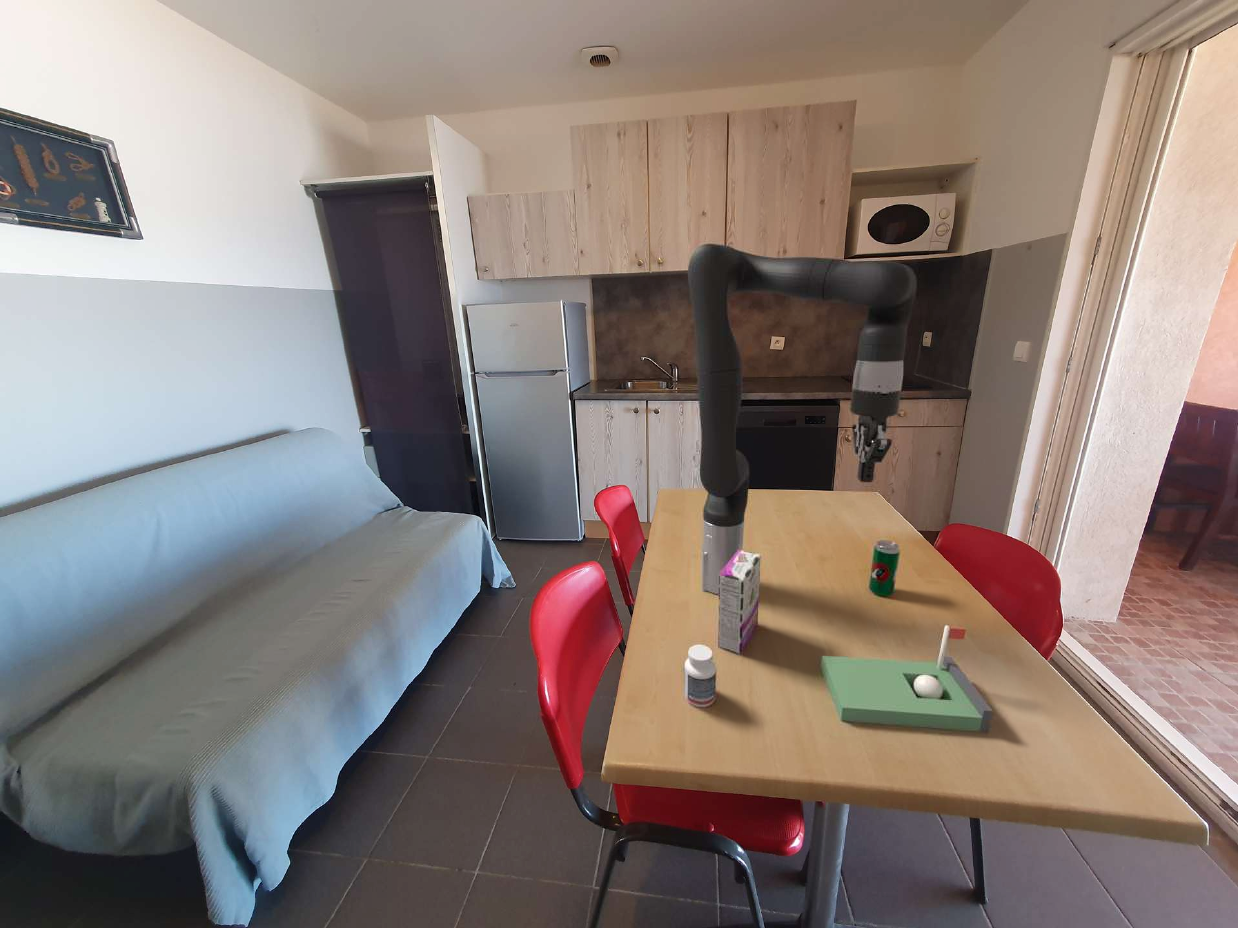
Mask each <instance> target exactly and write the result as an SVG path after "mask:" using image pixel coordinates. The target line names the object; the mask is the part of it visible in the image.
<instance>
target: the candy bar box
mask: <svg viewBox="0 0 1238 928" xmlns="http://www.w3.org/2000/svg"><path fill="white" fill-rule="evenodd" d="M761 556H762V554H760V553H755V552H751V551H746V550H744V549H743V550H738V551H737V552H736V553H735V555H734V556H733V557H732V559H731V560H730V561H729V563H728V564H727V565H726V566H725V568H724V569H723V570H722V571H721V573H720V574H719V594H718V631H717V632H718V640H717V641H718V642H717V644H718V645H717V646H718V648H721V649H723V650H726V651H729V652H733V653H735V654H737V655H742V654H743V652H744V650H745V648H746V646H747V644H748V643H749V640H750V638H751V637H752V635H753V633H754V631H755V629H756V628H757V626H758V622H759V621H758V620H759V603H760V601H759V598H760V577H761V558H762V557H761Z"/></svg>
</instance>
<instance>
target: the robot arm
mask: <svg viewBox="0 0 1238 928" xmlns="http://www.w3.org/2000/svg"><path fill="white" fill-rule="evenodd" d="M687 266H688V267H687V277H688V278H687V279H688V280H687V281H688V288H689V294H690V300H691V301H690V302H691V306H692V313H693V319H694V320H693V321H694V322H693V323H694V335H695V336H694V337H695V351H696V353H695V354H696V377H697V378H696V379H697V392H698V393H697V394H698V406H699V421H700V431H701V434H700V435H701V437H700V438H701V440H700V441H701V443H700V444H701V447H700V461H699V462H700V463H699V477H700V482H701V484H702V487H703V488H704V489H705V491H706V492H707V497H706V500H705V503H704V506H703V511H702V512H703V516H702V517H703V519H702V543H701V544H702V545H701V590H702V591H708V592H710V593H713V594H716V595H719V574H720V573H721V571H722V570H723V569H724V568H725V566H726V565H727V564H728V563H729V561H730V560H731V559H732V557H733V556H734V555H735V553H736V552H737V551H738V550H744V533H745V529H744V528H745V513H746V509H747V506H748V505H747V504H748V498H749V486H750V485H749V484H750V466H749V462H748V459H747V458H746V457H745V455H744V454H743V453H742V452H741V451H739V450H737V448H736V447H737V445H736V444H737V443H736V431H737V425H738V424H737V423H738V419H739V415H740V409H741V408H740V407H741V404H742V398H743V364H742V362H743V361H742V357H741V353H740V349H739V346H738V344H737V340H736V339H735V335H734V334H733V331H732V328H731V325H730V319H729V314H728V313H729V312H728V310H729V309H728V294H730V293H731V294H732V293H741V292H764V293H765V292H766V293H772V294H777V295H781V296H787V297H789V298H790V297H791V298H796V299H802V300H806V301H807V300H808V301H816V302H817V301H818V302H824V303H825V302H826V303H827V302H828V303H845V304H851V305H856V306H861V307H868V309H867V314H866V315H867V317H866V321H865V325H864V327H862V330H861V332H860V336H859V341H858V349H857V357H856V358H857V360H856V364H855V366H854V367H855V368H854V370H853V371H854V372H853V378H852V379H853V380H852V387H851V397H850V406H849V411H850V412H851V413H852V414H853V415H856V416H858V418H857V420H858V421H857V423H855V424H852V427H851V429H852V430H851V431H852V439H853V446H854V447H853V448H854V453H855V455H857V459H858V469H857V475H856V477H857V480H858V481H860V482H861V483H872V482H873V481H874V476H875V475H874V472H875V468H876V467H875V466H876V463H882V462H883V460H884V458H885V457H886V455H887V453H888V451H889V450H890V448H891V446H892V444H893V443H892V438H887V437H886V436H887V434H888V421H887V419H888V418H889V417H894V416H896V415H897V414H898V413H899V408H900V400H901V392H902V387H903V379H904V359H905V353H906V352H905V350H906V343H907V331H908V326H909V323H910V319H911V315H912V312H913V307H914V303H915V299H916V294H917V284H918V283H917V277H916V274H915V272H914V270H913V269H912V268H911V267H910V266H908V265H906V264H904V263H903V264H902V263H899V262H897V261H890V260H889V261H888V260H886V261H884V260H853V261H851V260H847V259H842V258H829V257H816V256H815V257H811V256H801V257H800V256H798V257H796V256H795V257H793V256H792V257H772V256H769V257H768V256H763V255H757V254H753V253H749V252H745V251H742V250H739V249H736V248H734V247H732V246H729V245H724V244H719V243H718V244H716V243H705V244H702V245H700V246H698V247H697V248H696V249H695V250H694V251H693V253H692V255H691V257H690V260H689V263H688V265H687Z"/></svg>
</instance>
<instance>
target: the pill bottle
mask: <svg viewBox="0 0 1238 928" xmlns="http://www.w3.org/2000/svg"><path fill="white" fill-rule="evenodd" d="M687 653H688V655H687V659H686V660H685V662H684V668H683V669H684V675H683V676H684V678H683V679H684V683H683V684H684V686H683V687H684V689H683V690H684V691H683V692H684V698H685V699H686V701H687V702H688V703H689V704H690V705H693V706H694V707H697V708H698V707H699V708H705V707H706V708H707V707H709V706H710V705H712V704H713V703H715V700H716V696H717V695H716V694H717V693H716V692H717V691H716V689H717V666H716V662H715V661H714V658H713V651H712V649H711V648H710V647H708V646H707V645H705V644H695V645H693V646H690V647H689V649H688V652H687Z"/></svg>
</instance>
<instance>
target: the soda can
mask: <svg viewBox="0 0 1238 928" xmlns="http://www.w3.org/2000/svg"><path fill="white" fill-rule="evenodd" d="M872 554H873V555H872V560H871V568H870V575H869V583H868V588H869V590H870V592H871V593H873V594H874V595H876V596H878V597H879V596H880V597H886V598H887V597H890V596H892V595H893V594H894V592H895V586H896V580H897V574H898V573H897V572H898V568H899V561H900V560H899V559H900V554H901V549H900V547H899V545H898V543H897V542H894V541H890V540H878V541H876V544H875V545H874V546H873V553H872Z"/></svg>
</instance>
